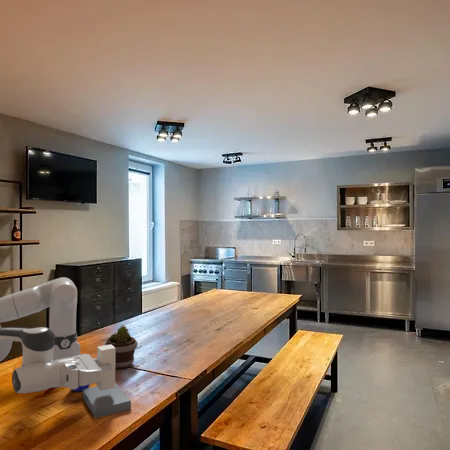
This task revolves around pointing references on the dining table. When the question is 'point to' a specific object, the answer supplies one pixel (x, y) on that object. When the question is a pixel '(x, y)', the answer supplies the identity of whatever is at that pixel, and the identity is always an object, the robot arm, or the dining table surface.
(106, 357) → the block
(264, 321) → the dining table surface
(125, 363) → the flowerpot
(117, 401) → the block
